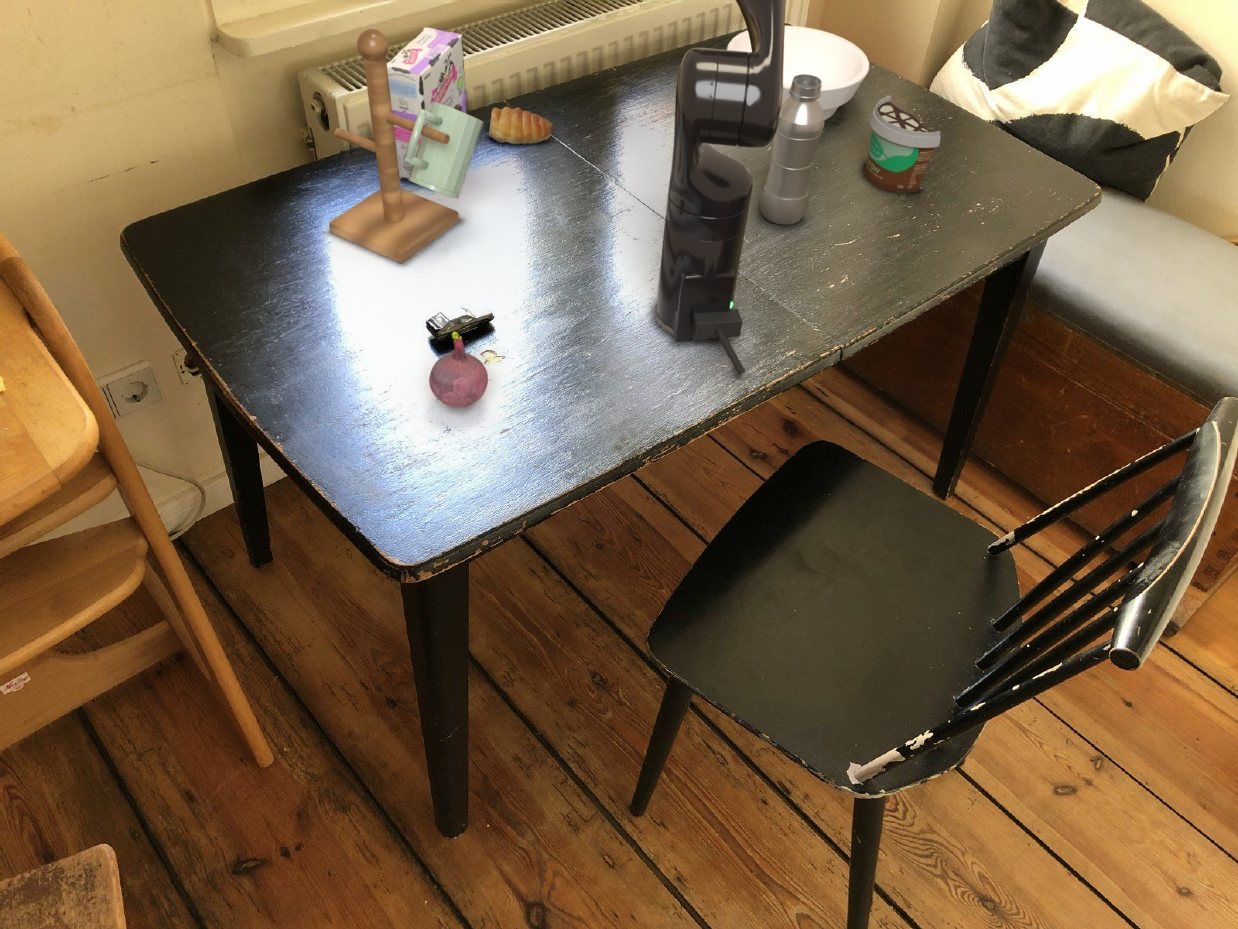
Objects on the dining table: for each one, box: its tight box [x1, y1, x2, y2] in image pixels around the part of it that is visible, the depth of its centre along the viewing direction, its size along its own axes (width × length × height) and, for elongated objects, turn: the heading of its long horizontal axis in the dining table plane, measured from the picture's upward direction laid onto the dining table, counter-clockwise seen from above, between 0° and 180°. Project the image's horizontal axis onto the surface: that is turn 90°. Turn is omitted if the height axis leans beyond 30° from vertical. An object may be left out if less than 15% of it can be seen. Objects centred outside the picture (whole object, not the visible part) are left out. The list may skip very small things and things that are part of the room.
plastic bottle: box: [759, 74, 825, 226], centre depth 134 cm, size 6×7×20 cm
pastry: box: [488, 106, 553, 145], centre depth 151 cm, size 9×7×4 cm
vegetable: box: [428, 331, 489, 408], centre depth 108 cm, size 6×6×10 cm
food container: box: [864, 94, 942, 193], centre depth 146 cm, size 12×6×10 cm, turn 27°
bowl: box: [726, 25, 870, 121], centre depth 161 cm, size 22×22×8 cm
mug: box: [404, 102, 485, 200], centre depth 124 cm, size 11×6×10 cm
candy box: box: [386, 26, 468, 181], centre depth 140 cm, size 14×6×16 cm, turn 162°
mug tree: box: [328, 28, 460, 264], centre depth 124 cm, size 18×12×26 cm, turn 59°
